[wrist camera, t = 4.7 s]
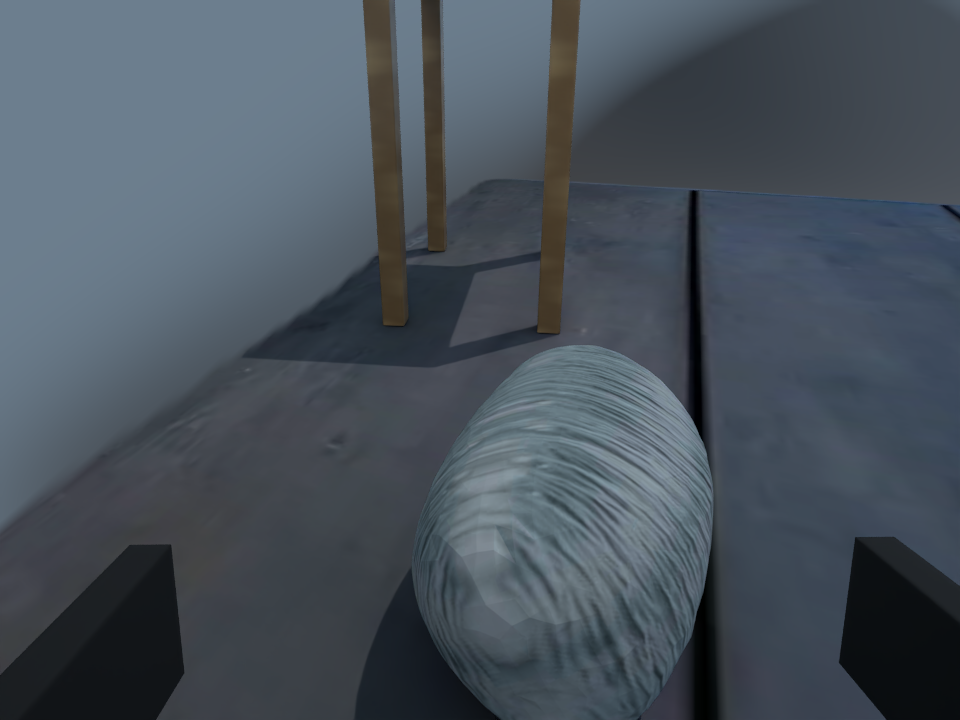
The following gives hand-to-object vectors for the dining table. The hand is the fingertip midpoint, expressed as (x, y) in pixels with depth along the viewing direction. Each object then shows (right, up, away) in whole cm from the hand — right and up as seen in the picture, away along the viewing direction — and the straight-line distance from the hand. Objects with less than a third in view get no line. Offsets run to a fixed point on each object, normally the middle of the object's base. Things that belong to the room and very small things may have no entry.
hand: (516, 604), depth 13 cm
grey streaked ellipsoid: (+2, -4, +11) cm, 12 cm away
